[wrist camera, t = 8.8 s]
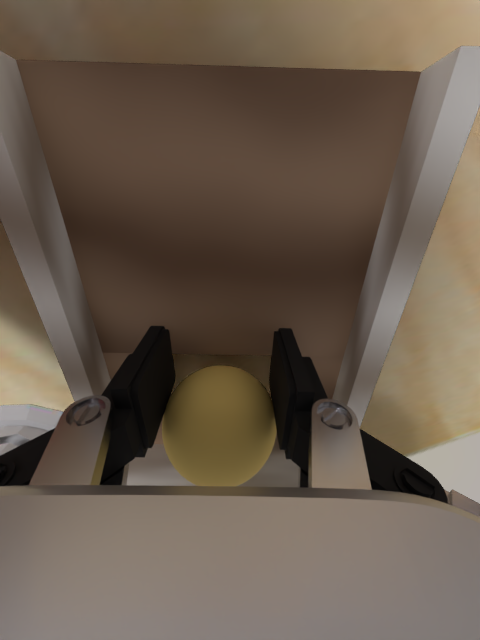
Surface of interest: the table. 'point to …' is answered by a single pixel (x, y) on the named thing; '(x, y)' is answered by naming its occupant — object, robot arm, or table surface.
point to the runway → (227, 212)
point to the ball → (219, 426)
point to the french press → (24, 424)
